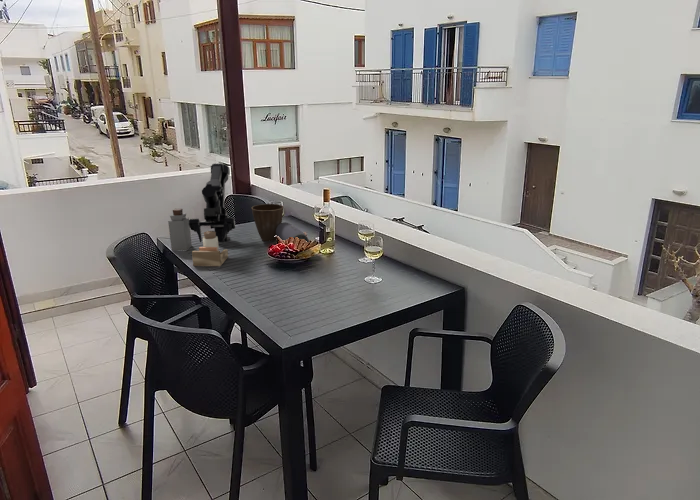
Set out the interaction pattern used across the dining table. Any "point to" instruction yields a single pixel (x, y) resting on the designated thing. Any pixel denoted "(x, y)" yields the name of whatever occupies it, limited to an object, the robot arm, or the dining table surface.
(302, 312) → the dining table surface
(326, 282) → the dining table surface
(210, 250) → the plate
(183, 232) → the perfume bottle
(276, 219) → the plant pot
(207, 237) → the jar
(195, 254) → the wooden frame
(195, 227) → the robot arm
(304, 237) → the bluetooth speaker
